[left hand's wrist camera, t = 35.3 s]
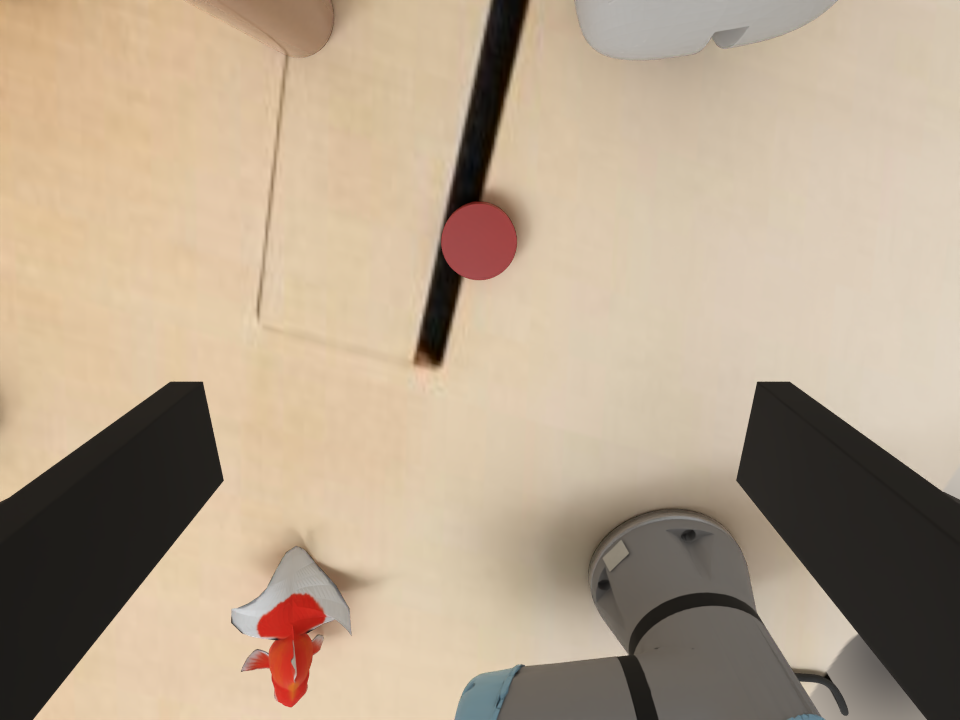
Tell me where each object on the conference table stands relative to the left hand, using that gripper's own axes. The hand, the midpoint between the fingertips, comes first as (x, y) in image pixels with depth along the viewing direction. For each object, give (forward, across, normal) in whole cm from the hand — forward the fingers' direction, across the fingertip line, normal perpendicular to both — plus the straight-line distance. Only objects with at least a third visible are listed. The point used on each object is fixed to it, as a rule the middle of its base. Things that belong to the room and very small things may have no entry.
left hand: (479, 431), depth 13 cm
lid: (+29, 0, 0) cm, 29 cm away
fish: (+30, +19, +36) cm, 51 cm away
